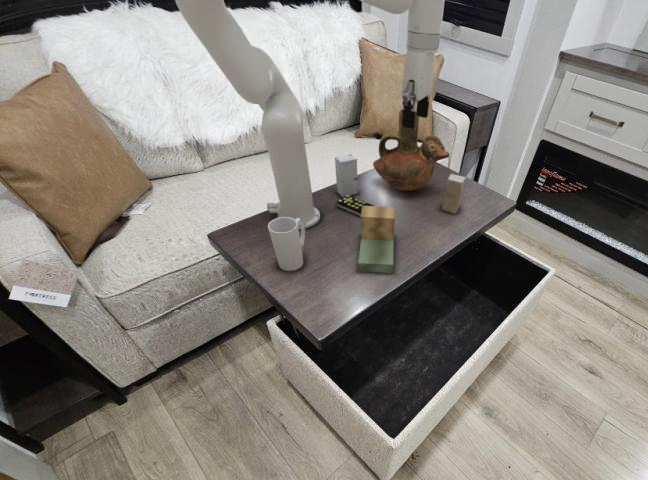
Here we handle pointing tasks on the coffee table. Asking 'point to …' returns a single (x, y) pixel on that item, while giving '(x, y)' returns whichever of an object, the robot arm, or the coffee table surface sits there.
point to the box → (453, 193)
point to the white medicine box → (346, 175)
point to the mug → (287, 242)
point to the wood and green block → (377, 239)
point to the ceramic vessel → (408, 157)
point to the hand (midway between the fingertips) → (415, 121)
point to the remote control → (352, 204)
